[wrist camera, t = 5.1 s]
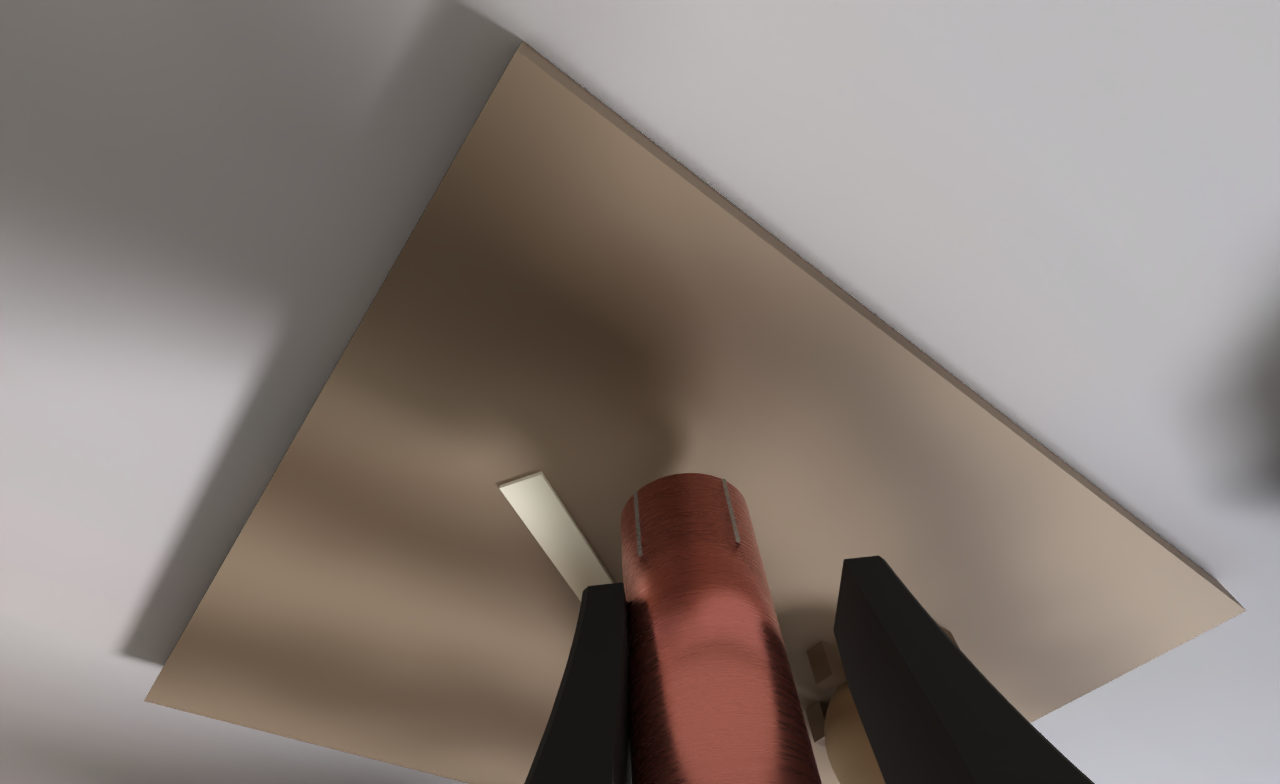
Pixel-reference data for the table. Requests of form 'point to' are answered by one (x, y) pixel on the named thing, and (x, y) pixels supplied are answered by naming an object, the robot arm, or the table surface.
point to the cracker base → (634, 468)
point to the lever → (705, 643)
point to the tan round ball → (849, 742)
